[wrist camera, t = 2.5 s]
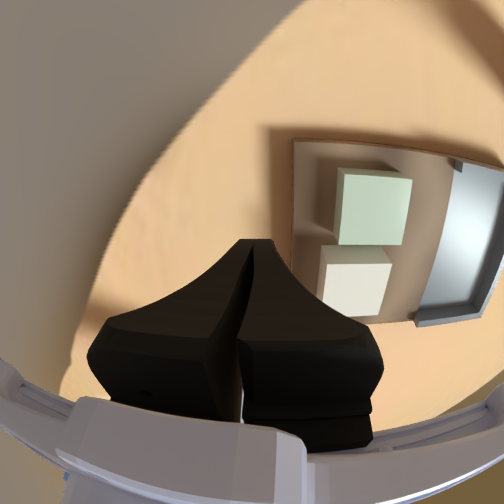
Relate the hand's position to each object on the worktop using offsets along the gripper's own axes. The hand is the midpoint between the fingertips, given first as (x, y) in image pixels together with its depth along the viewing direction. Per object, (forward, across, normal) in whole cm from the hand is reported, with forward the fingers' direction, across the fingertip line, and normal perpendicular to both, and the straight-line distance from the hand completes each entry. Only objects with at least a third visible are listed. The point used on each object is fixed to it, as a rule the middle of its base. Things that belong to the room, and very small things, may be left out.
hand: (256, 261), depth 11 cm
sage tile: (+7, -7, 0) cm, 10 cm away
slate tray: (+9, -18, +4) cm, 21 cm away
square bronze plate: (+9, -8, +4) cm, 13 cm away
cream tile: (+7, -6, +6) cm, 11 cm away
